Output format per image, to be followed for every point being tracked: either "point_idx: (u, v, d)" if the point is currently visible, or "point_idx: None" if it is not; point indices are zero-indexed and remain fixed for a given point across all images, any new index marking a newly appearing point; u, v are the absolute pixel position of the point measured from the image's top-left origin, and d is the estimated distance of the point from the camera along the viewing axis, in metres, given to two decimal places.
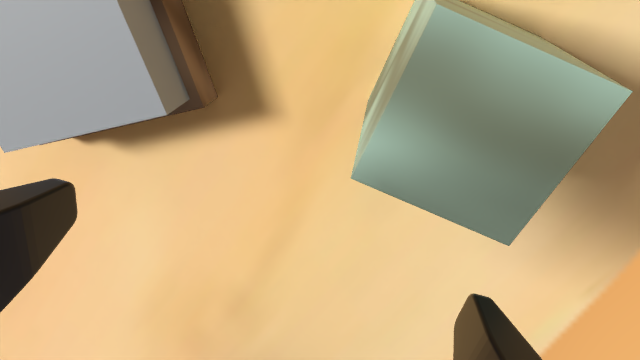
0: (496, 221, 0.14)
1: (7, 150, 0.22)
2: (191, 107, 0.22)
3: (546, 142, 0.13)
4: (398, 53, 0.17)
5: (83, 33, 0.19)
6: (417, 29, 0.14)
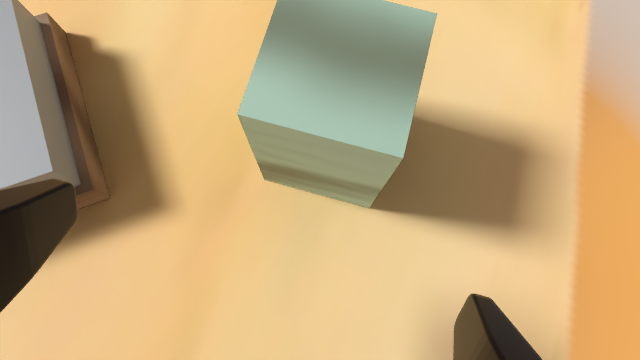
0: (382, 133, 0.15)
1: None
2: (79, 192, 0.21)
3: (395, 56, 0.16)
4: None
5: None
6: None
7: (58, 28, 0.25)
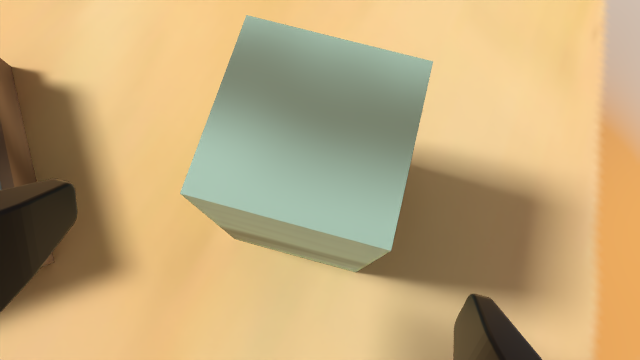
0: (365, 218, 0.12)
1: None
2: None
3: (381, 116, 0.13)
4: None
5: None
6: None
7: (1, 63, 0.22)
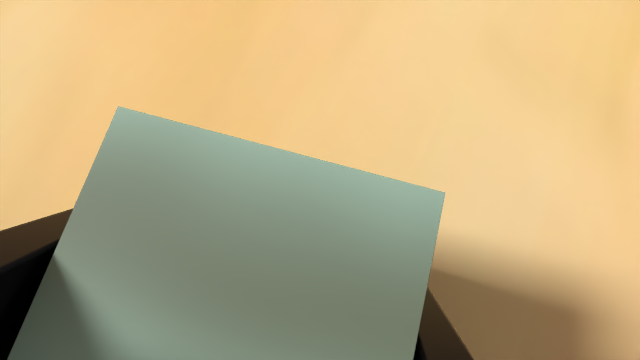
0: None
1: None
2: None
3: (351, 303, 0.07)
4: None
5: None
6: None
7: None
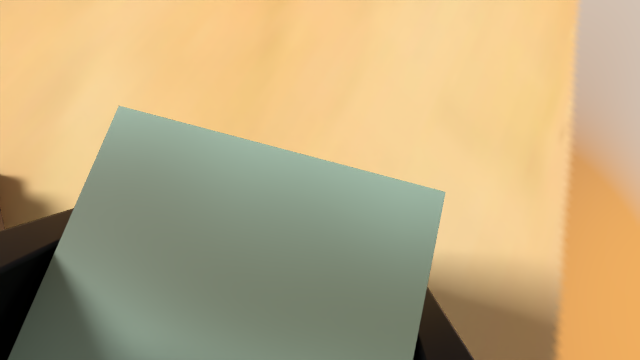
0: None
1: None
2: None
3: (351, 302, 0.07)
4: None
5: None
6: None
7: None
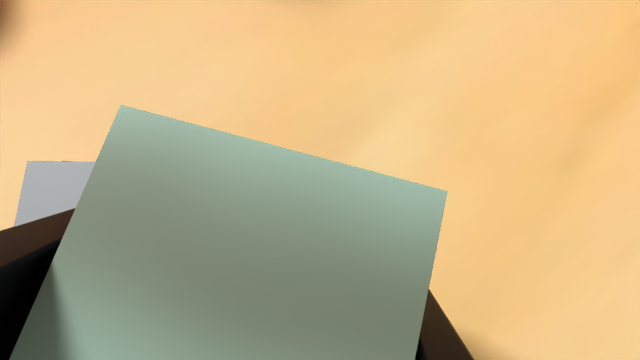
0: None
1: None
2: None
3: (353, 302, 0.07)
4: None
5: None
6: None
7: None
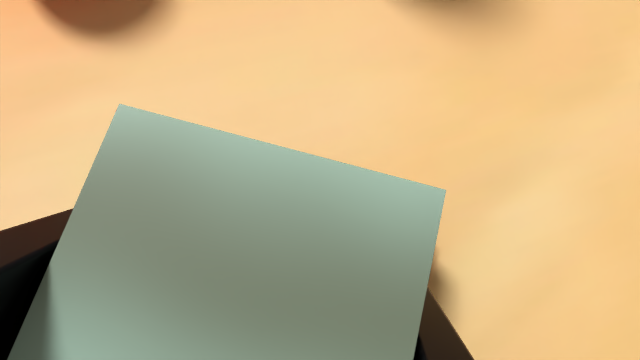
0: None
1: None
2: None
3: (352, 300, 0.07)
4: None
5: None
6: None
7: None
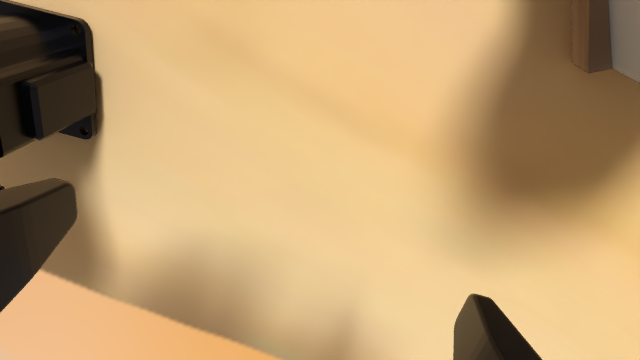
0: None
1: None
2: (592, 55, 0.17)
3: None
4: None
5: None
6: None
7: None
